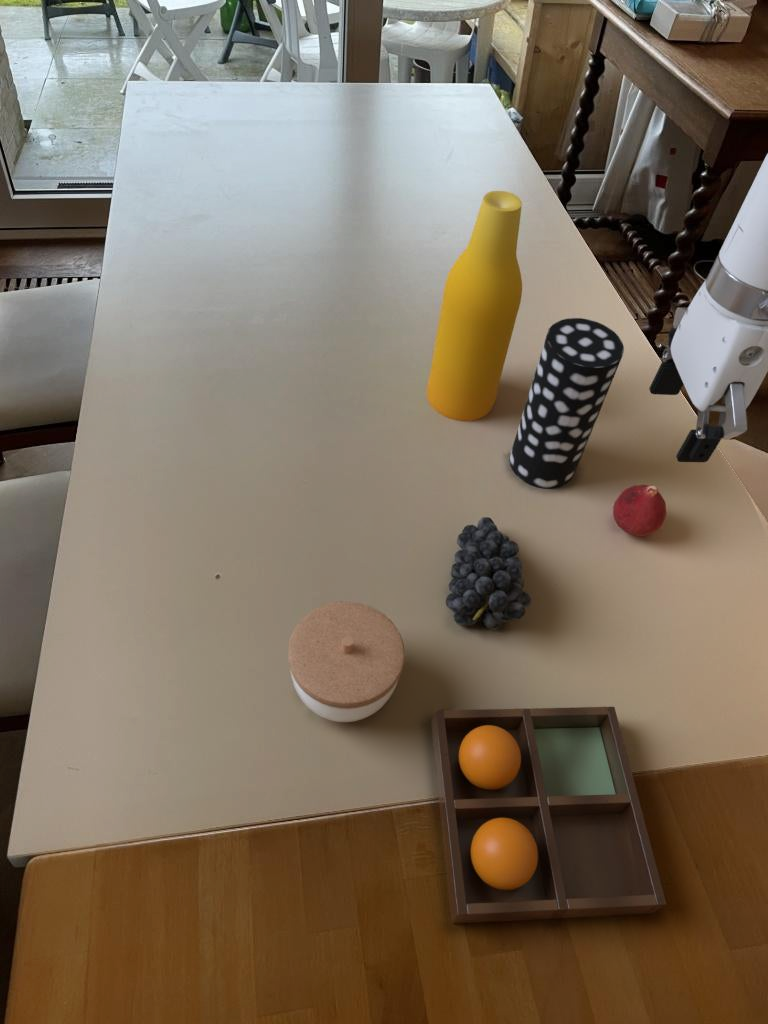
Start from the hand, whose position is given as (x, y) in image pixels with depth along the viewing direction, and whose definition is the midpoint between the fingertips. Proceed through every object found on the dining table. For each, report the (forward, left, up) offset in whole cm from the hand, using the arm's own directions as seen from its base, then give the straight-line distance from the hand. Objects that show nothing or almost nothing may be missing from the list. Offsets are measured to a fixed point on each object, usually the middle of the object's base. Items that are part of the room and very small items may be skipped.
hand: (676, 425), depth 81 cm
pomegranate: (-1, 0, -17) cm, 17 cm away
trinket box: (+34, +20, -17) cm, 44 cm away
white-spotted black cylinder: (+8, -10, -17) cm, 22 cm away
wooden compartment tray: (+17, +33, -17) cm, 41 cm away
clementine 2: (+21, +38, -14) cm, 45 cm away
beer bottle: (+17, -22, -17) cm, 33 cm away
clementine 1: (+21, +29, -14) cm, 39 cm away
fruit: (+18, +8, -17) cm, 27 cm away
